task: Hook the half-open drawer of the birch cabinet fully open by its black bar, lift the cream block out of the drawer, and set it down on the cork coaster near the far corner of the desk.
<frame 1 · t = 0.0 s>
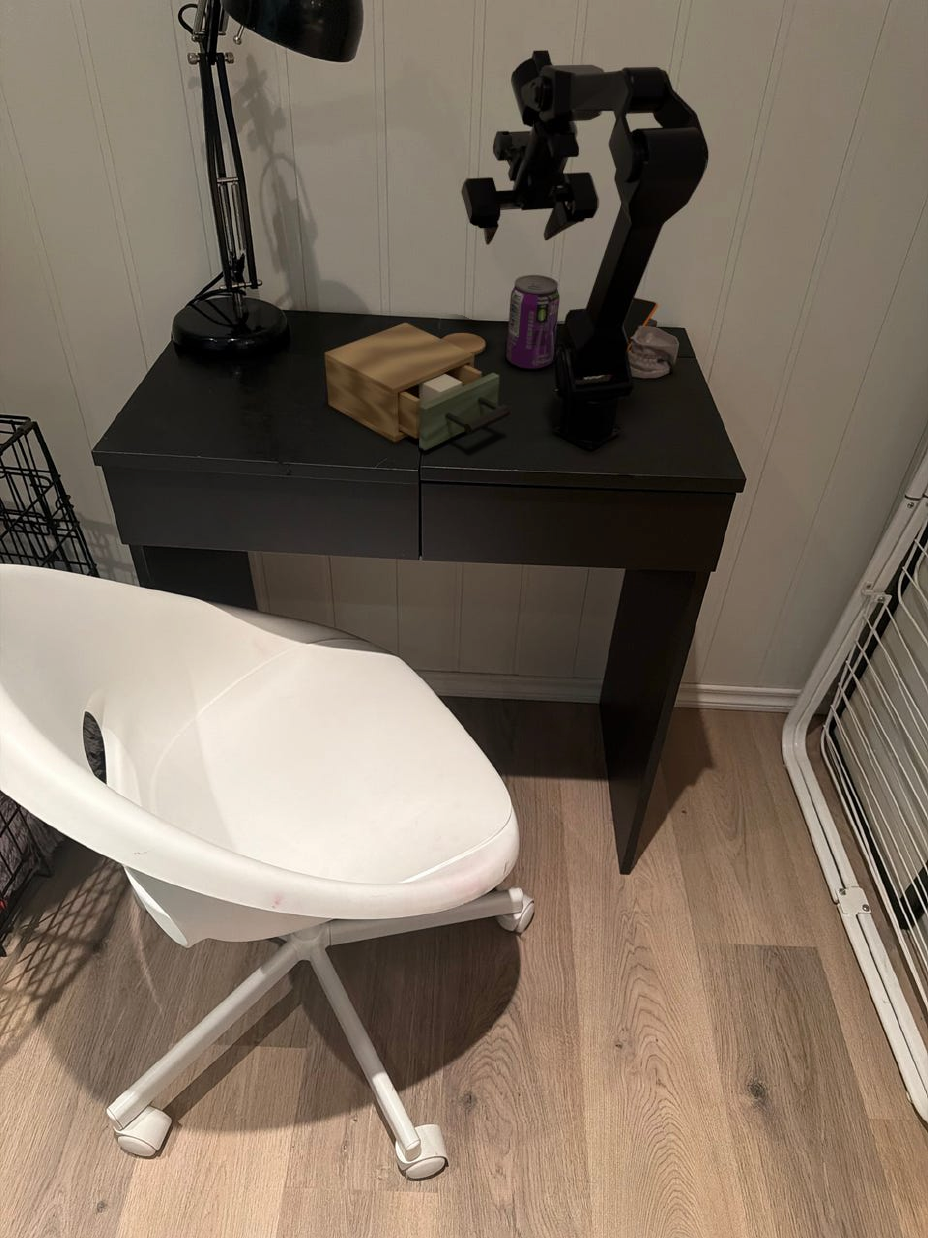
hand: (516, 239, 125), 15 cm above the table, tool tilted 35°, fingers open, 9 cm apart
dental mold: (652, 336, 124), point 5 cm above the table
model: (590, 349, 126), point 3 cm above the table, touching smartphone
coaster: (463, 345, 132), on the table
cabinet: (400, 405, 117), on the table
drawer: (442, 401, 110), point 4 cm above the table, slide at 4.0 cm, touching block
block: (440, 412, 112), point 2 cm above the table, touching drawer
wireless earbuds: (635, 342, 135), on the table, touching smartphone
smartphone: (633, 322, 134), point 3 cm above the table, touching model, wireless earbuds
beverage can: (529, 363, 129), on the table
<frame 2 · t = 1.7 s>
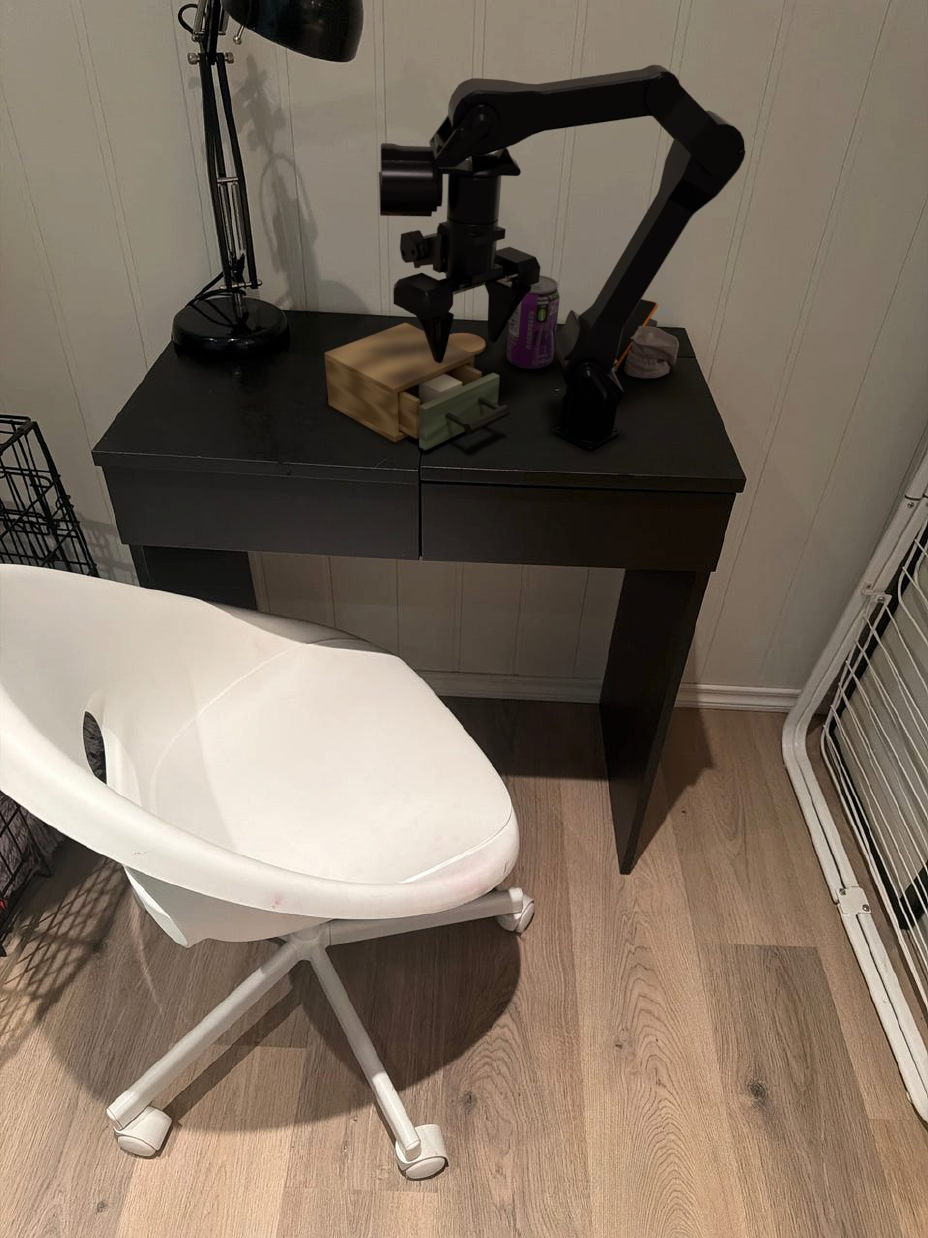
hand: (465, 351, 103), 12 cm above the table, tool pointing down, fingers open, 9 cm apart
nothing on the table moved.
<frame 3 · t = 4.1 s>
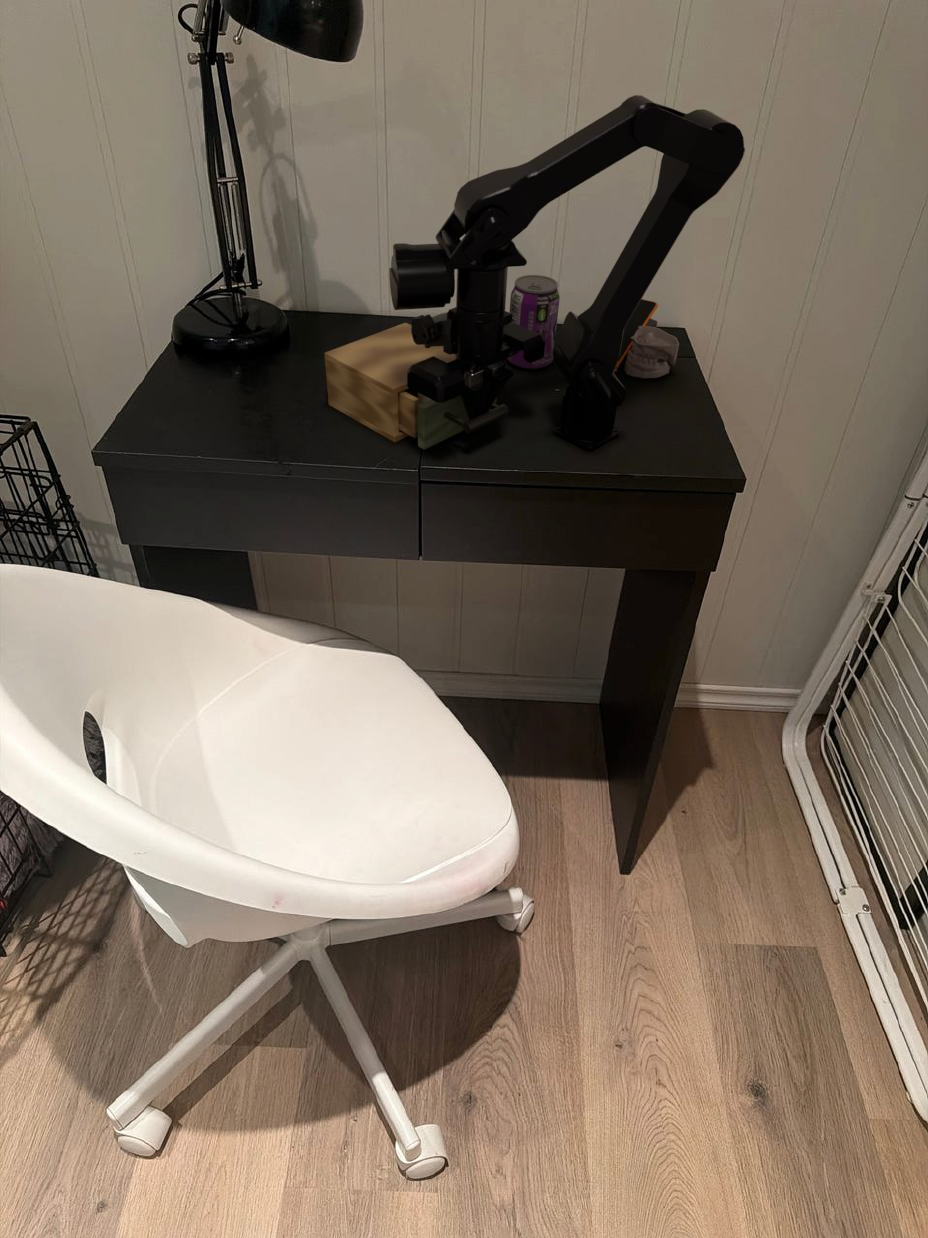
hand: (475, 423, 108), 3 cm above the table, tool pointing down, fingers closed
drawer: (441, 401, 111), point 4 cm above the table, slide at 3.8 cm, touching block, gripper
everything else where it was.
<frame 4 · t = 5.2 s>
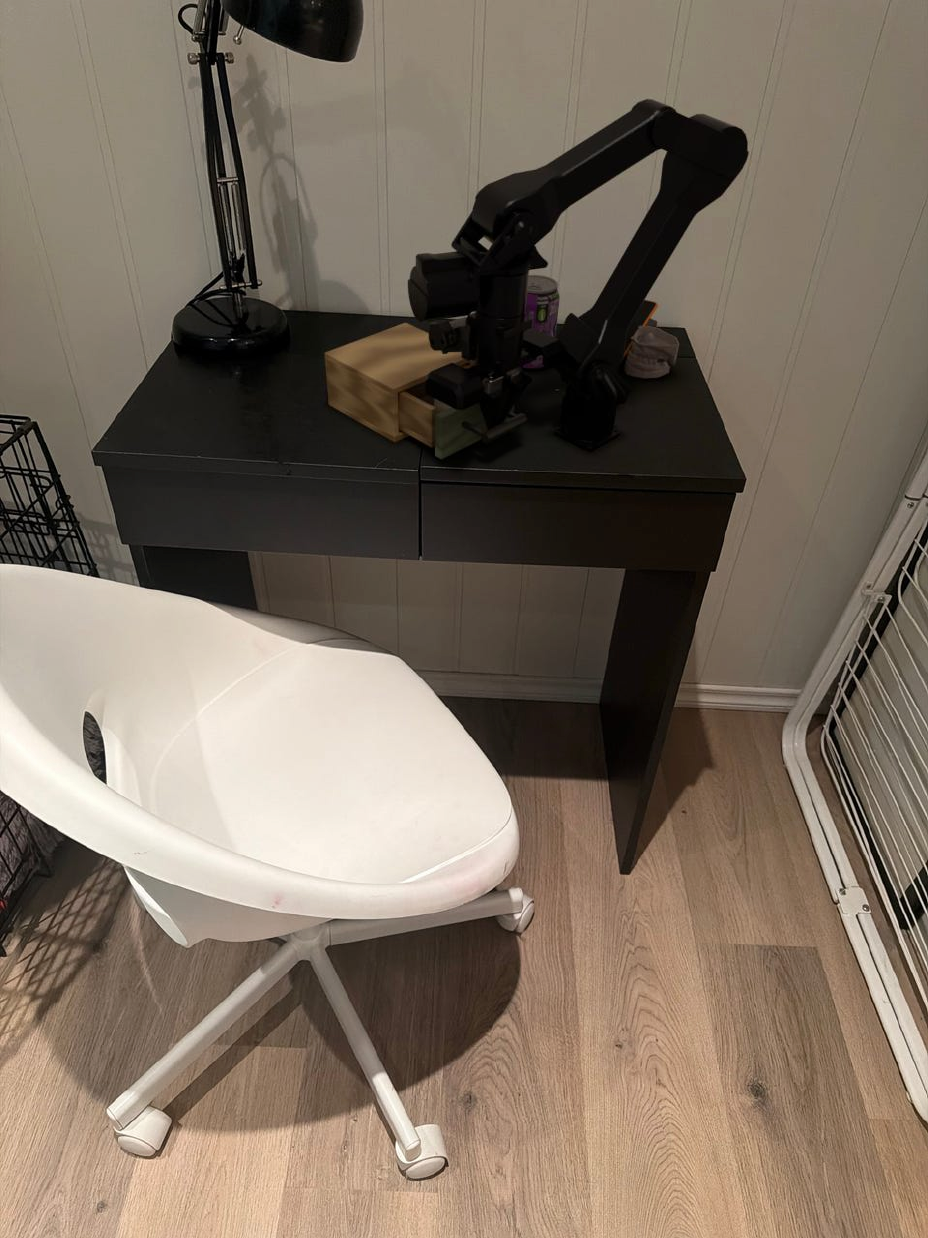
hand: (492, 430, 106), 3 cm above the table, tool pointing down, fingers closed
drawer: (458, 409, 109), point 4 cm above the table, slide at 6.9 cm, touching block
block: (455, 421, 110), point 2 cm above the table, touching drawer
everything else where it was.
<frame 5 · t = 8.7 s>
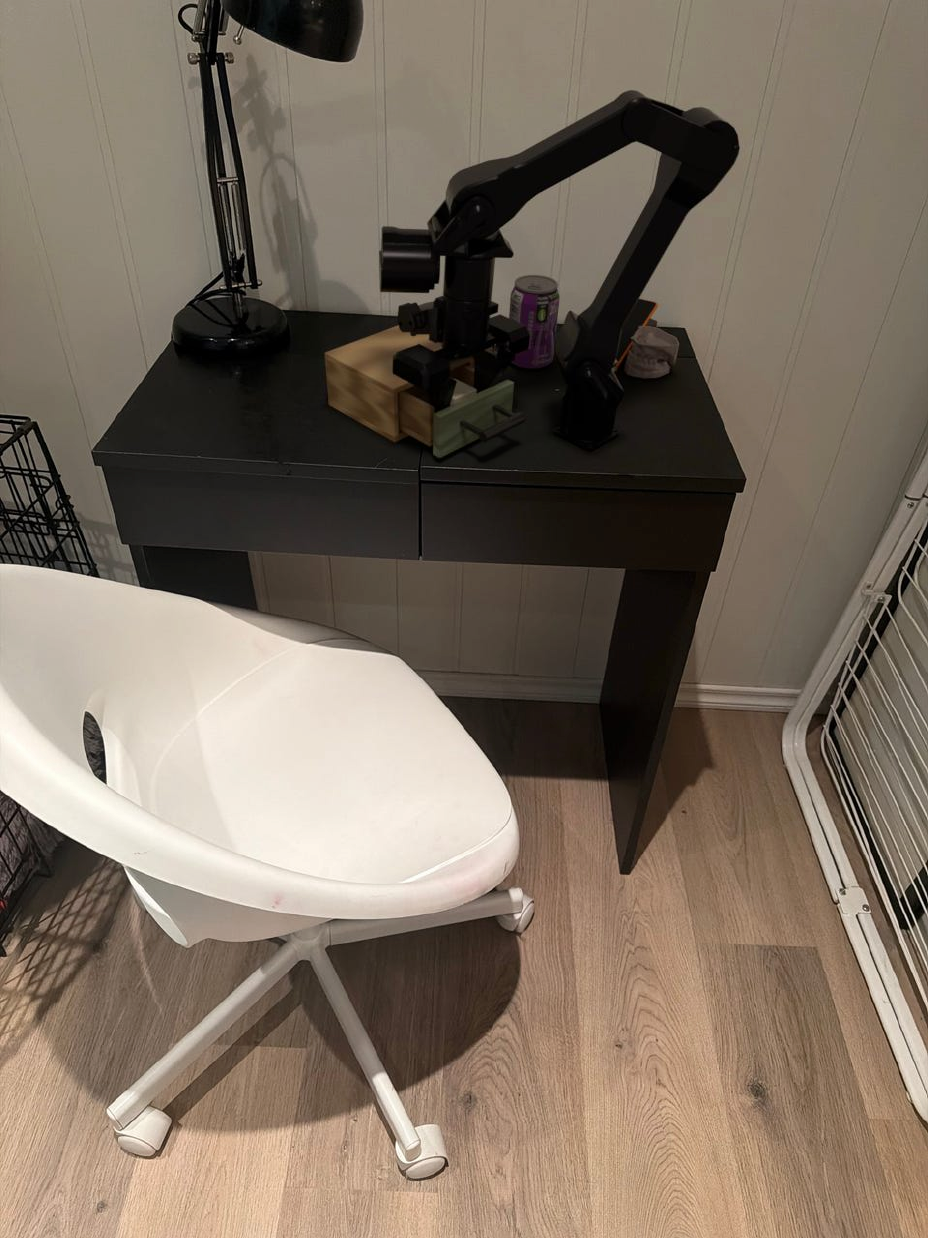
hand: (459, 413, 109), 4 cm above the table, tool pointing down, fingers closed on drawer, 7 cm apart
drawer: (456, 408, 109), point 4 cm above the table, slide at 6.6 cm, touching block, gripper
everything else where it was.
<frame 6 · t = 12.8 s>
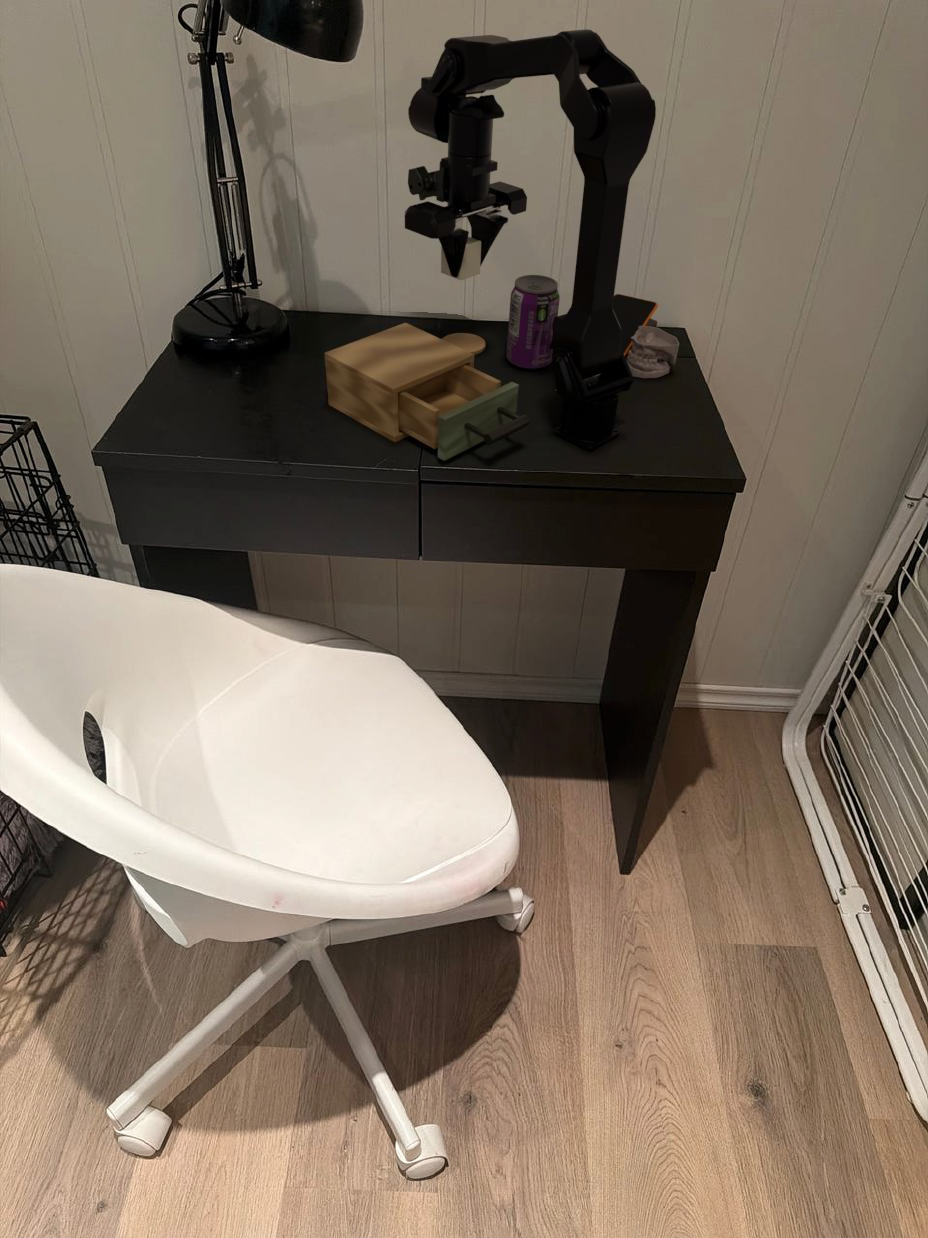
hand: (465, 272, 121), 13 cm above the table, tool pointing down, fingers closed on block, 4 cm apart
drawer: (460, 411, 109), point 4 cm above the table, slide at 7.4 cm
block: (460, 273, 121), point 12 cm above the table, touching gripper
everything else where it was.
when the fingers open (1 cm above the table, at t = 16.1 s): block stays where it is, resting on coaster.
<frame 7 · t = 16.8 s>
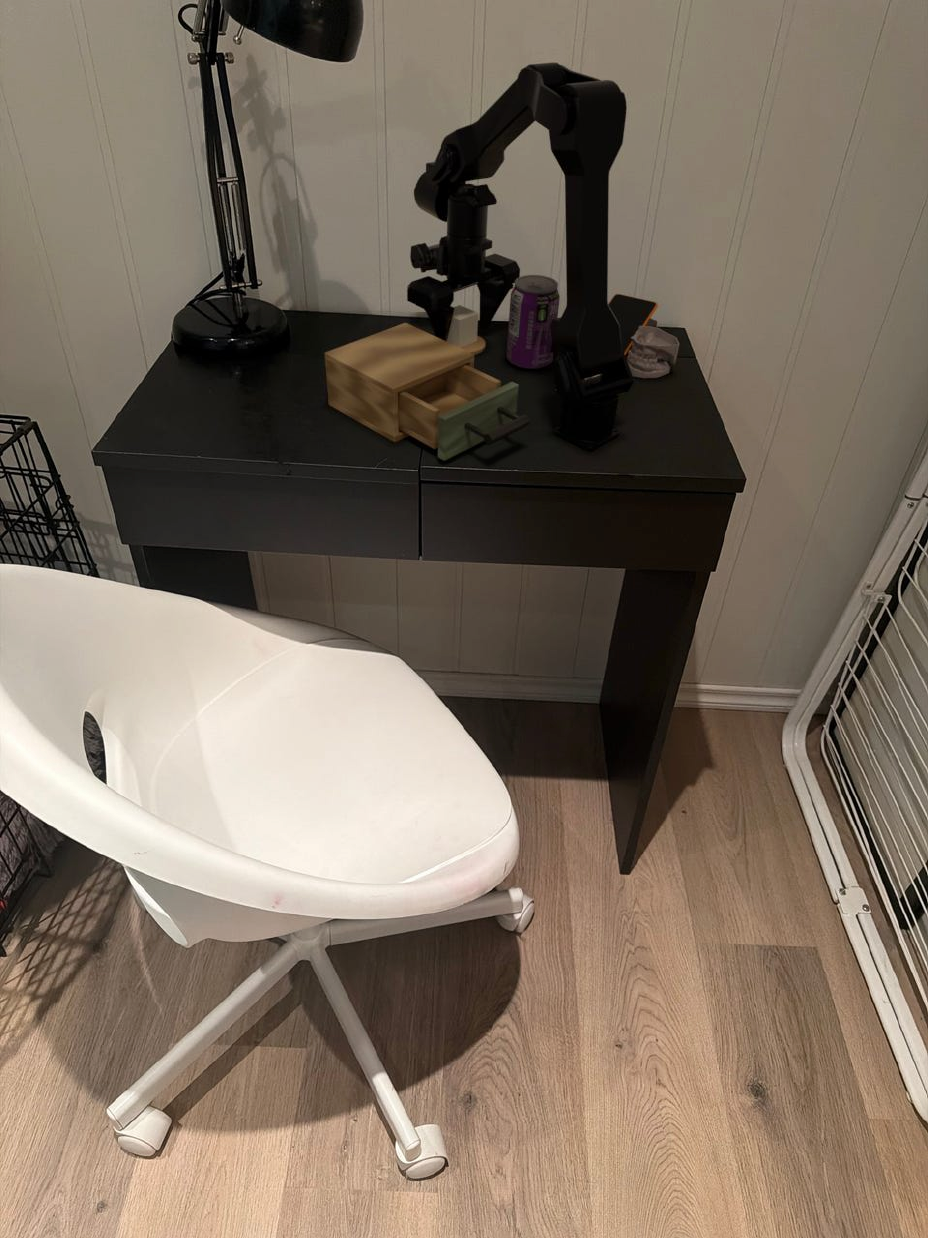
hand: (463, 337, 131), 1 cm above the table, tool pointing down, fingers open, 9 cm apart
block: (458, 340, 132), point 1 cm above the table, touching coaster
everything else where it was.
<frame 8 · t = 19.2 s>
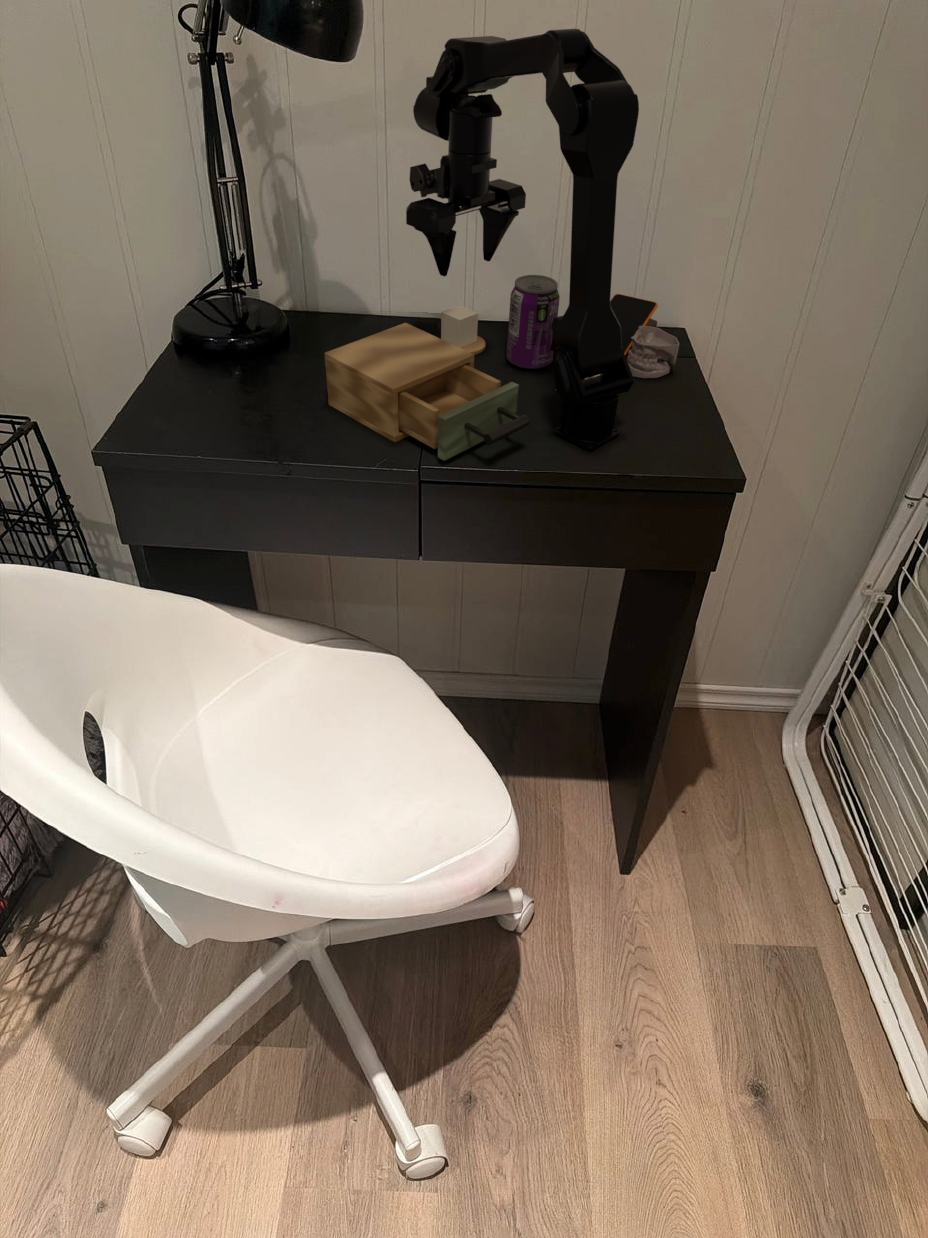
hand: (465, 267, 124), 12 cm above the table, tool pointing down, fingers open, 9 cm apart
nothing on the table moved.
at the end: drawer slide at 7.4 cm; block 0.9 cm off-centre on the coaster, point 0.6 cm above the coaster's base; block tilted 0° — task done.
